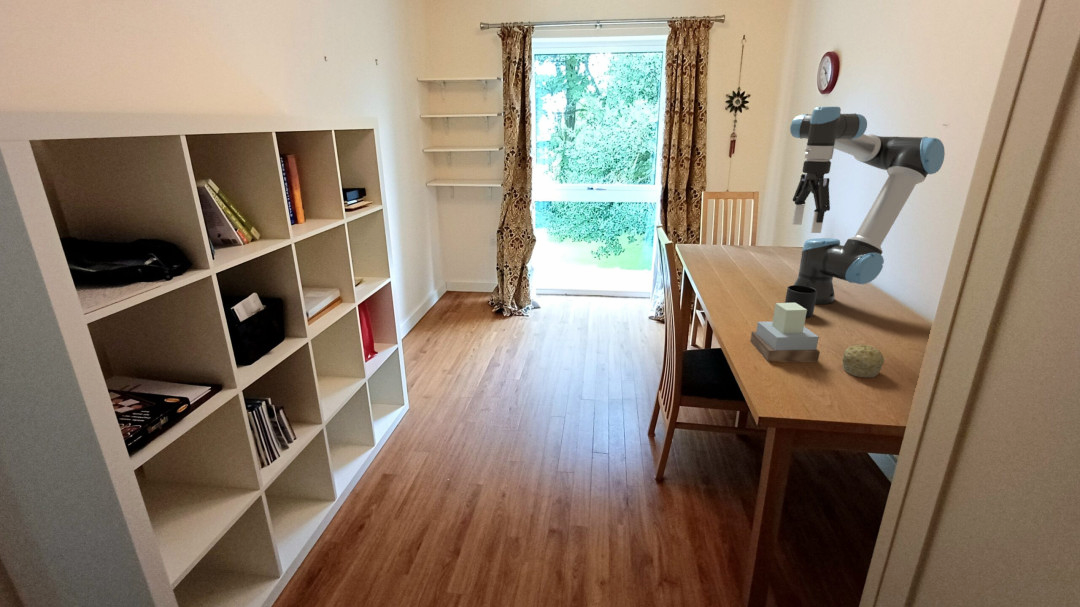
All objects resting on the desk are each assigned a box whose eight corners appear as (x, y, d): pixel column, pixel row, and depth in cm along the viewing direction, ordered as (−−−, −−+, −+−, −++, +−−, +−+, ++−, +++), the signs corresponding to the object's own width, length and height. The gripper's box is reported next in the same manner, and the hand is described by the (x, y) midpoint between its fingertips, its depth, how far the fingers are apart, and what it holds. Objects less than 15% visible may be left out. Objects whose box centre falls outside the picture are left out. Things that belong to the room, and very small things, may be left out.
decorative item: (841, 375, 145) (827, 351, 141) (872, 355, 143) (858, 330, 140) (864, 392, 136) (850, 366, 132) (897, 371, 134) (883, 344, 131)
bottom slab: (795, 344, 158) (798, 332, 156) (817, 364, 144) (819, 351, 143) (750, 343, 158) (751, 331, 157) (767, 363, 145) (769, 350, 144)
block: (791, 324, 151) (795, 302, 149) (802, 332, 146) (807, 309, 143) (771, 325, 151) (775, 303, 148) (782, 333, 145) (786, 310, 143)
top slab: (794, 333, 155) (796, 321, 154) (816, 349, 144) (818, 336, 143) (755, 333, 155) (757, 321, 154) (774, 350, 144) (777, 337, 142)
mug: (810, 308, 186) (815, 284, 183) (814, 319, 175) (818, 294, 172) (782, 305, 189) (786, 281, 186) (783, 316, 178) (788, 291, 175)
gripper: (788, 157, 169) (778, 221, 176) (824, 163, 145) (811, 236, 152) (811, 157, 169) (800, 221, 176) (851, 163, 145) (837, 236, 152)
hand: (805, 228), depth 164 cm, fingers open, 13 cm apart
